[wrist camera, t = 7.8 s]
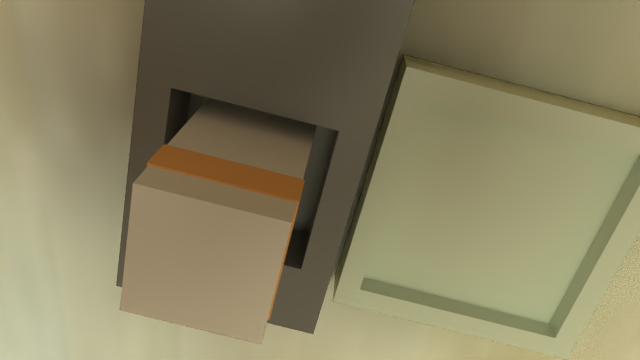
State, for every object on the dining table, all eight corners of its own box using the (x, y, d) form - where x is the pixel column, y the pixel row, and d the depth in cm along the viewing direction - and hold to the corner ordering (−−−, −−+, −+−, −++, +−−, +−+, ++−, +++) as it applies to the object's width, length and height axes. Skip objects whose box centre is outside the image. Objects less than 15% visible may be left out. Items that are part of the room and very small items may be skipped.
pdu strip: (513, -368, 14) (657, -654, 7) (320, 283, 22) (298, 446, 15) (233, -448, 13) (93, -827, 7) (147, 240, 22) (47, 386, 15)
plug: (295, 212, 20) (262, 346, 14) (196, 188, 20) (117, 310, 14) (320, 118, 19) (295, 221, 12) (211, 91, 19) (130, 180, 12)
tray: (667, 123, 18) (692, 141, 17) (554, 330, 22) (566, 359, 21) (403, 54, 18) (407, 66, 17) (335, 276, 22) (332, 301, 21)
